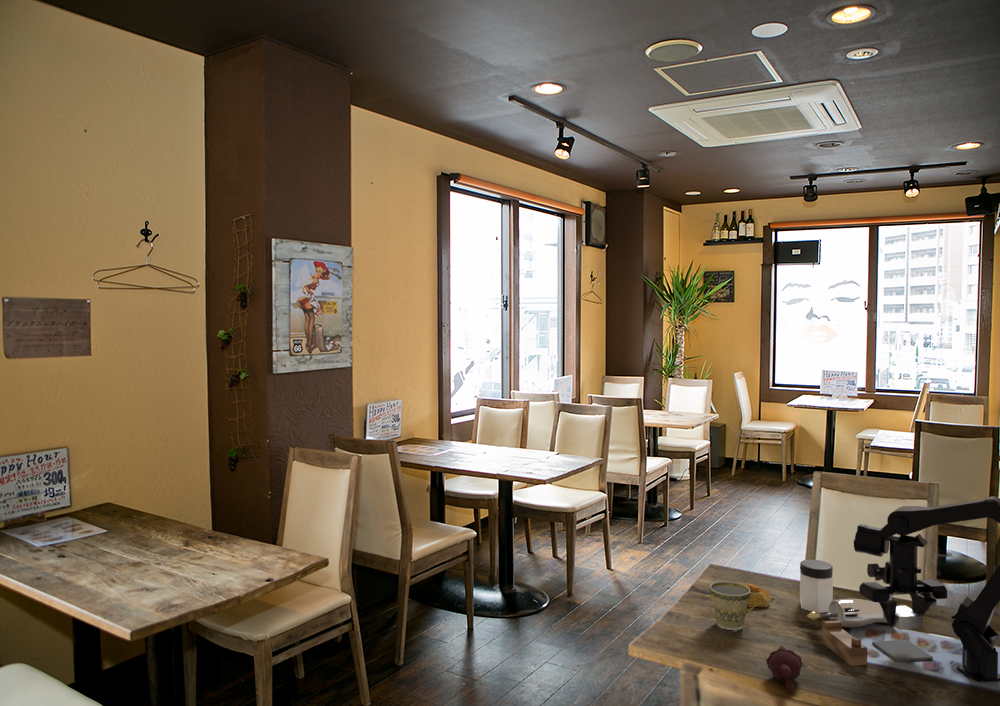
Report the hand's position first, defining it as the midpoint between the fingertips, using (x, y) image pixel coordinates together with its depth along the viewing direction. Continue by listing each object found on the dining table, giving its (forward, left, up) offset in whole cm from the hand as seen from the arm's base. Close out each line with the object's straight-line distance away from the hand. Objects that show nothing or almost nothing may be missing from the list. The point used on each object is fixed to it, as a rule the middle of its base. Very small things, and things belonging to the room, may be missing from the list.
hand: (902, 625), depth 167 cm
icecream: (-9, +34, -7) cm, 36 cm away
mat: (0, 0, -6) cm, 6 cm away
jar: (+27, +6, -7) cm, 29 cm away
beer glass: (+16, -7, -3) cm, 18 cm away
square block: (0, 0, 0) cm, 1 cm away
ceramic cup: (+18, +33, -7) cm, 38 cm away
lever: (+11, +14, -2) cm, 18 cm away
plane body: (+1, +14, -6) cm, 15 cm away
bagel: (+33, +22, -7) cm, 40 cm away
